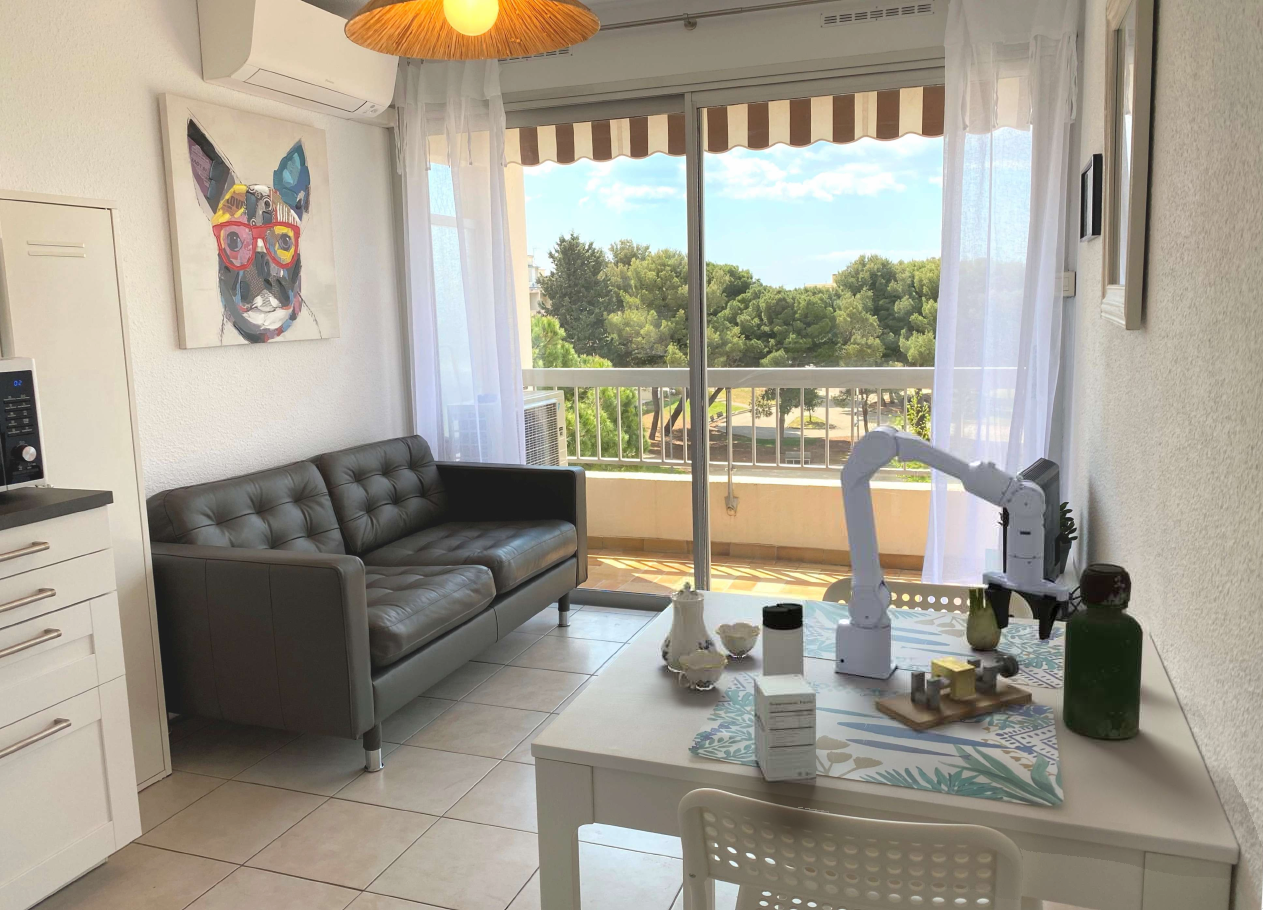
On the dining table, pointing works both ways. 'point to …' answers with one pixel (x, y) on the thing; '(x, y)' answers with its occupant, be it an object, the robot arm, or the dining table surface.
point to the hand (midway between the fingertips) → (1023, 633)
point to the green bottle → (1103, 658)
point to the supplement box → (785, 727)
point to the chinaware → (701, 640)
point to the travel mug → (782, 639)
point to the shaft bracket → (950, 699)
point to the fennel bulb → (981, 622)
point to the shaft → (1005, 668)
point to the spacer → (955, 676)
